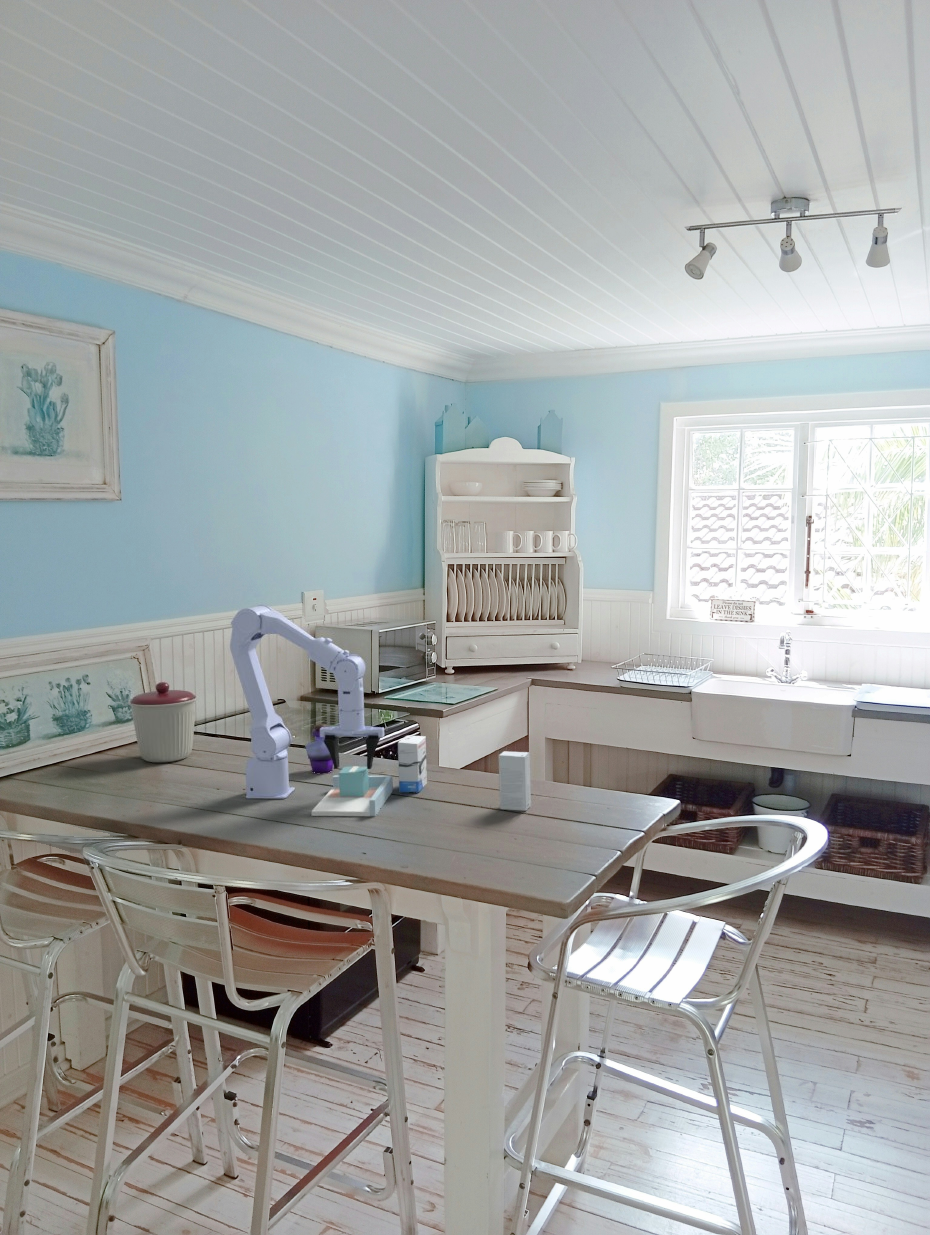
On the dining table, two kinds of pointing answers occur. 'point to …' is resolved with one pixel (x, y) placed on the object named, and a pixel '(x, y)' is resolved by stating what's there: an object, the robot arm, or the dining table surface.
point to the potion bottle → (319, 753)
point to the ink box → (412, 763)
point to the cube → (353, 781)
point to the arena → (355, 799)
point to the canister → (164, 723)
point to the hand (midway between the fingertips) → (353, 767)
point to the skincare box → (514, 780)
